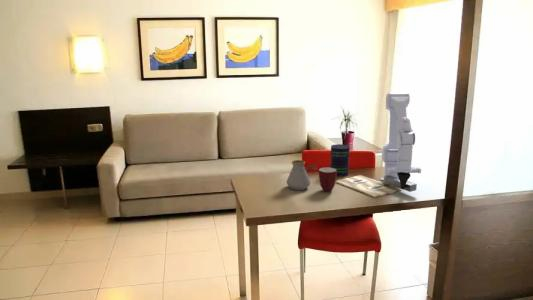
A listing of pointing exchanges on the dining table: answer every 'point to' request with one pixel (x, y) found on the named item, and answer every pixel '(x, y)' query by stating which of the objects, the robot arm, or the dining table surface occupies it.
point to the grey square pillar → (396, 182)
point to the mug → (327, 178)
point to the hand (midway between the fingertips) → (402, 188)
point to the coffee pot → (299, 176)
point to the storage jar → (340, 159)
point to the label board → (368, 186)
